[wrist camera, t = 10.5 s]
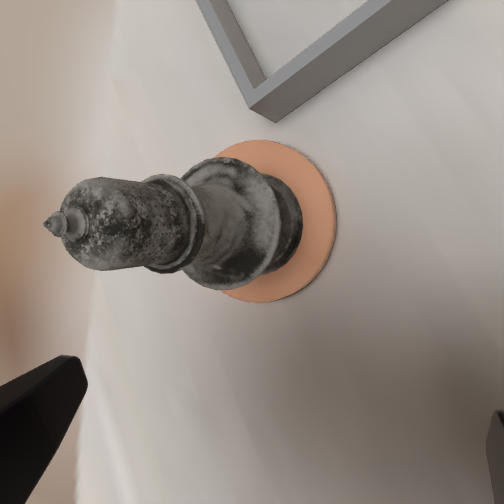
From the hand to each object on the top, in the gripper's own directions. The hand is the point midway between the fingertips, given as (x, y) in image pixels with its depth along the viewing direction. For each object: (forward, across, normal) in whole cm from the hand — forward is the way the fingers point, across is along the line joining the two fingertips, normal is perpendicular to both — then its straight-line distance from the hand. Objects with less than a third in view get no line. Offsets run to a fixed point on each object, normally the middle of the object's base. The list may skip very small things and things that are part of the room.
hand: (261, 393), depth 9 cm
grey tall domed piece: (+13, +3, +2) cm, 13 cm away
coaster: (+14, +3, +2) cm, 14 cm away
